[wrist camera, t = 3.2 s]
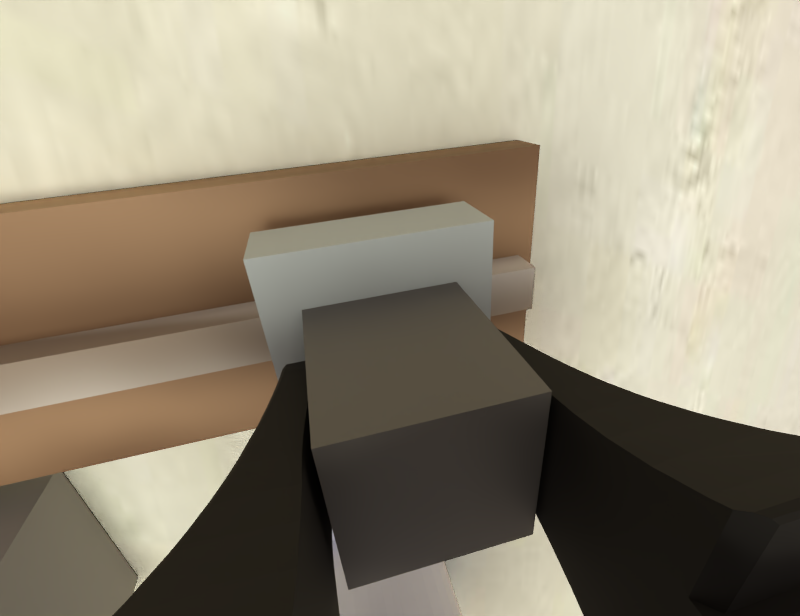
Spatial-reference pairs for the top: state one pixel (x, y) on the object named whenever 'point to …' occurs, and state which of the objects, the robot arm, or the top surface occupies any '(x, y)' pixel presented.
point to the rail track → (197, 296)
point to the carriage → (405, 383)
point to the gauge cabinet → (57, 554)
